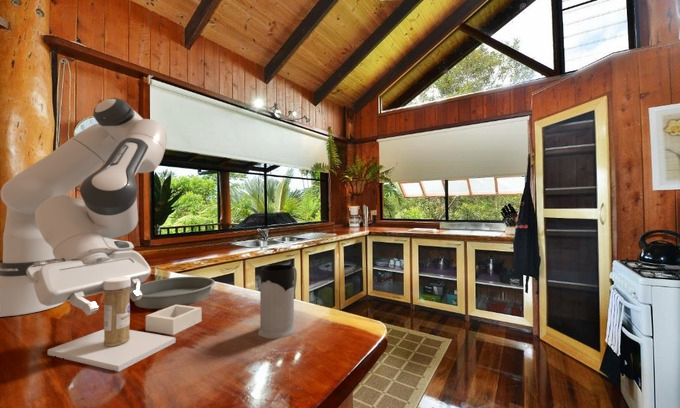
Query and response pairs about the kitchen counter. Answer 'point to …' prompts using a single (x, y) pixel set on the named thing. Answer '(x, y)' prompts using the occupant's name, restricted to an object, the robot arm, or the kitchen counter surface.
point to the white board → (112, 349)
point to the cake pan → (173, 292)
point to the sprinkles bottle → (116, 311)
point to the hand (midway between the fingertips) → (117, 304)
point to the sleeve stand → (173, 319)
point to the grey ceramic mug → (277, 301)
